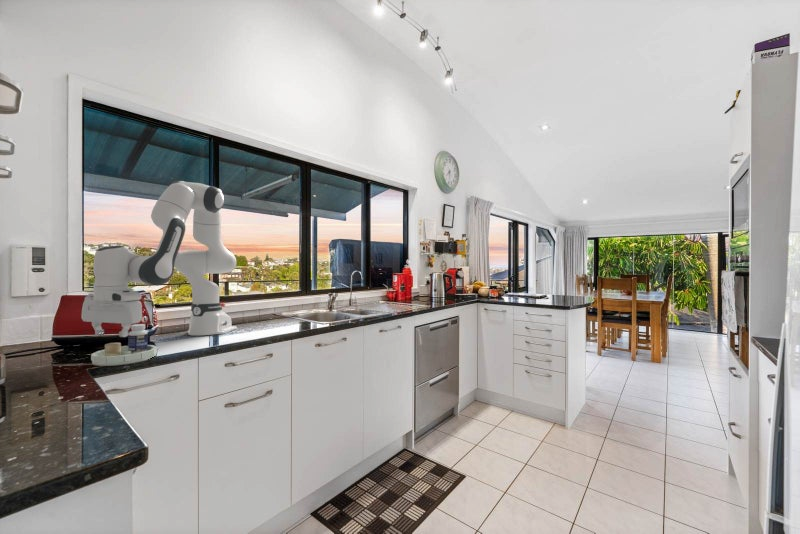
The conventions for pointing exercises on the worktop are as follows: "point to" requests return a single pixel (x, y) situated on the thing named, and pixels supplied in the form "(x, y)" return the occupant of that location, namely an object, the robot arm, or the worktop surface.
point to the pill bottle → (138, 339)
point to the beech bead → (113, 349)
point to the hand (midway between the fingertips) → (111, 335)
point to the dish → (123, 357)
